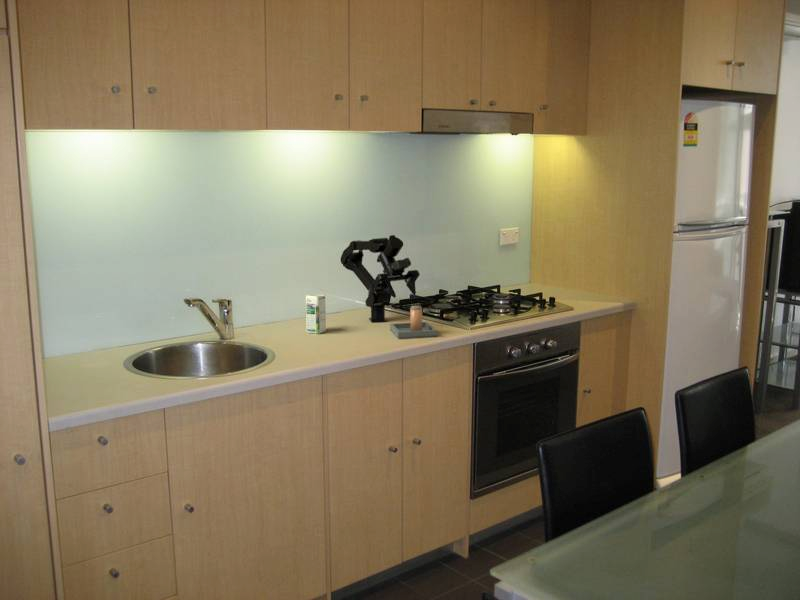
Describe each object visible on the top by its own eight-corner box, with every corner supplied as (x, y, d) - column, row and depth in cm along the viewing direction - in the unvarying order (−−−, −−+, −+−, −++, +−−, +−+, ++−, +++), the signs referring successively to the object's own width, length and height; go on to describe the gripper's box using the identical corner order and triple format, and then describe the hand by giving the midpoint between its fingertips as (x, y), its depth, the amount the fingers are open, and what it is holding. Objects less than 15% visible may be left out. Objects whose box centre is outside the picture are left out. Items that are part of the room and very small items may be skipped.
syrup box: (305, 332, 306) (304, 296, 303) (314, 329, 311) (313, 293, 309) (318, 334, 304) (317, 297, 301) (326, 331, 309) (325, 294, 306)
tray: (390, 329, 310) (390, 323, 310) (427, 327, 313) (427, 321, 313) (398, 339, 296) (398, 332, 295) (437, 336, 299) (437, 330, 298)
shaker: (408, 332, 303) (408, 307, 301) (414, 330, 307) (414, 305, 305) (418, 334, 301) (418, 308, 299) (424, 331, 304) (424, 306, 302)
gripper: (377, 253, 303) (392, 286, 297) (417, 249, 313) (433, 281, 307) (366, 271, 311) (381, 303, 305) (406, 266, 321) (421, 297, 315)
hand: (405, 295), depth 307 cm, fingers open, 9 cm apart
